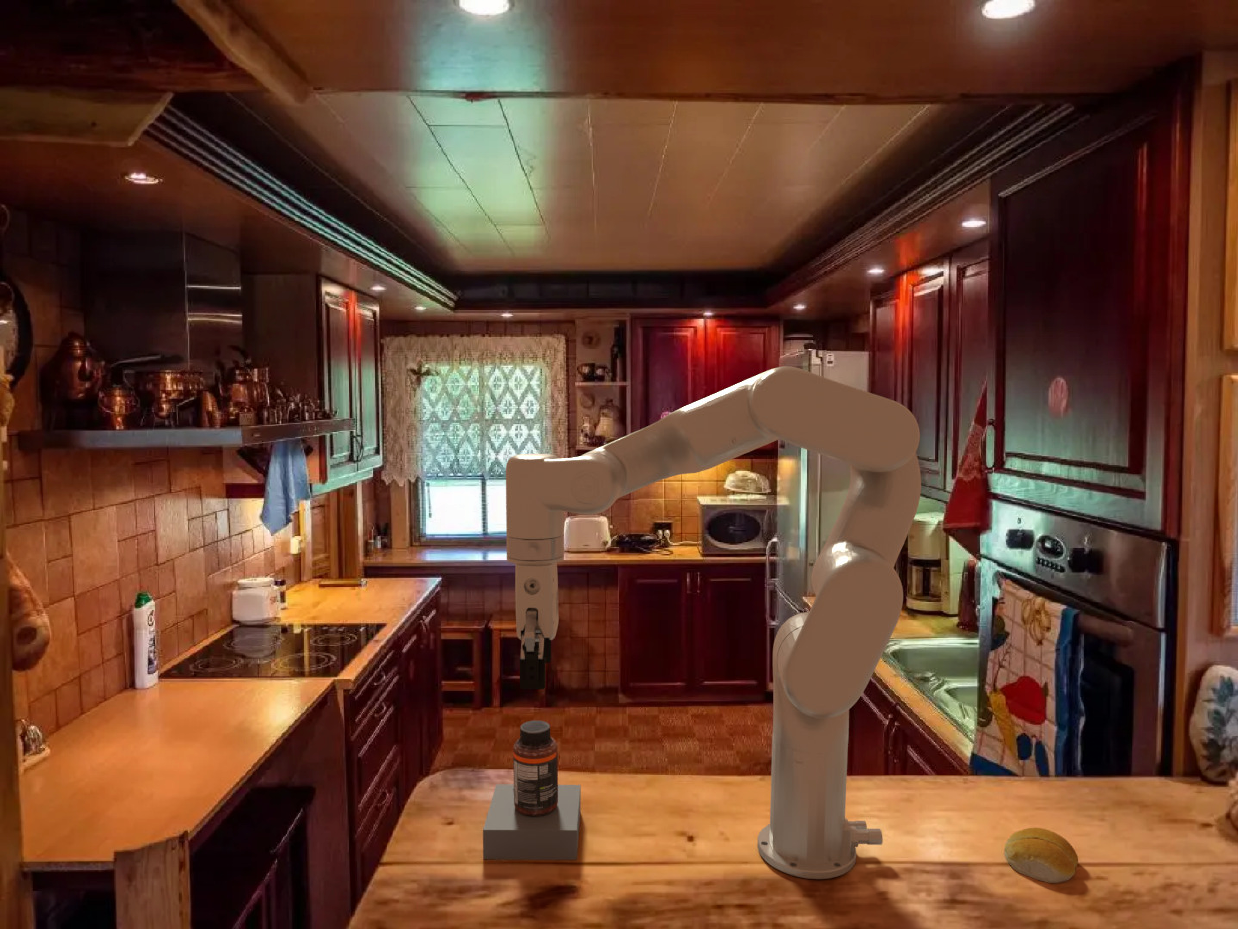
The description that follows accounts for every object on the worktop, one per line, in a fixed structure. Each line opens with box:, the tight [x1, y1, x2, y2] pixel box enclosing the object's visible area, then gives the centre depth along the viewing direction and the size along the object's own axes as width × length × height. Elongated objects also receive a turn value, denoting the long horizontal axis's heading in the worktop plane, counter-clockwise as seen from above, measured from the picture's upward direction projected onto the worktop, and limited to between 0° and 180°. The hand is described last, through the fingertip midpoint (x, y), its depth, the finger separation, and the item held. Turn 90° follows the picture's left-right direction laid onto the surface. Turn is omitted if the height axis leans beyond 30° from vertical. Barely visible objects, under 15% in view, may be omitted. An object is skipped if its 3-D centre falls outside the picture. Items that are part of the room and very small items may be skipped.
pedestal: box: [482, 783, 582, 861], centre depth 111 cm, size 12×12×4 cm
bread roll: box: [1003, 827, 1079, 884], centre depth 106 cm, size 8×9×4 cm
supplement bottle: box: [512, 720, 559, 816], centre depth 111 cm, size 6×6×11 cm
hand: (536, 674), depth 110 cm, fingers open, 9 cm apart
